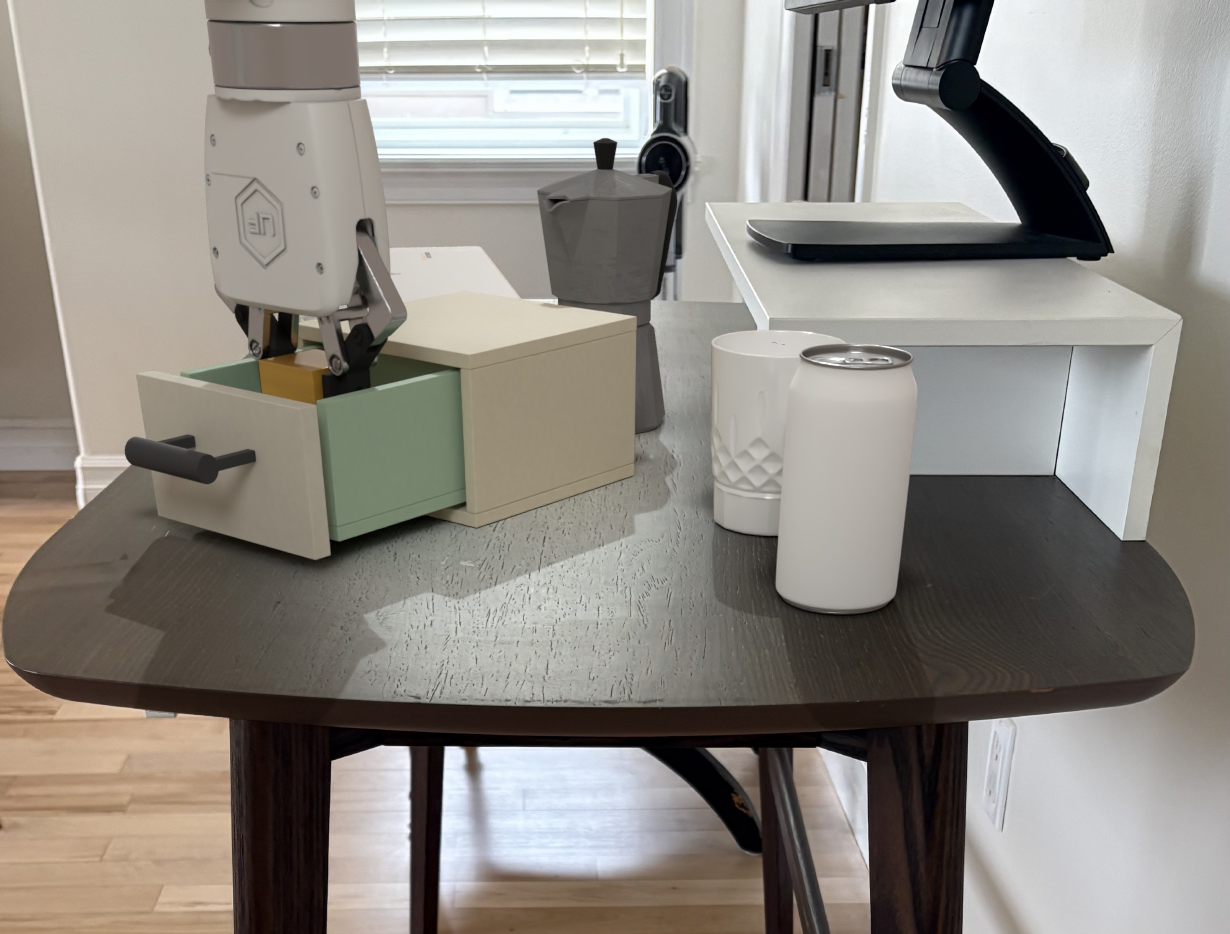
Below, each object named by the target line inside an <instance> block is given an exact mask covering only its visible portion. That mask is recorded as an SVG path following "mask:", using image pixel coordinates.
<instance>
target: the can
mask: <svg viewBox="0 0 1230 934" xmlns="http://www.w3.org/2000/svg"><path fill="white" fill-rule="evenodd" d="M799 356H800V358H801V362H800V365H799V367H798V369H797V371H796V373H795V375H794V377H793V379H792V381H791V384H790V387H789V394H788V405H787V418H786V432H785V446H784V460H783V475H782V489H781V504H780V519H779V534H778V536H777V551H776V568H775V590H776V592H778V594H779V595H780V597H781V599H782V600H783V601H784V602H785V603H786V604H788V605H789V606H790V607H793V608H796V609H799V610H802V611H805V612H809V613H815V614H822V615H831V616H852V615H853V616H854V615H863V614H867V613H872V612H876V611H879V610H882V609H883V608H886V606H887V605H889V604H890V601H892V600H893V599H894V598H895V596H896V594H897V589H898V579H899V572H900V563H901V556H902V555H901V554H902V546H903V540H904V539H903V537H904V529H905V520H906V512H907V511H906V510H907V502H908V496H909V495H908V493H909V485H910V477H911V476H910V475H911V466H912V457H913V449H914V439H915V430H916V422H917V421H916V420H917V410H918V400H919V399H918V398H919V390H918V389H919V388H918V385H917V382H916V379H915V376H914V373H913V368H912V363H913V362H914V359H915V357H914V354H912V353H910V352H909V351H906V350H903V349H900V348H896V347H892V346H885V345H877V344H868V343H867V344H866V343H865V344H864V343H848V344H828V345H819V346H814V347H809V348H806V349H804V350H802V351H801V352H800V354H799Z"/></svg>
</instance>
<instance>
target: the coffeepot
mask: <svg viewBox="0 0 1230 934" xmlns="http://www.w3.org/2000/svg"><path fill="white" fill-rule="evenodd" d="M592 144H593V149H594V155H595V162H596V163H595V164H596V169H594V170H593V169H592V170H590V171H587V172H583V173H581V174H578V175H574V176H571V177H568V178H565V179H562V180H558V181H556V182H553V183H549V184H547V185H545V186H543V187H541V188H538V189H537V190H536V193H537V200H538V207H539V214H540V222H541V227H542V229H541V230H542V235H543V243H544V247H545V248H544V250H545V256H546V257H545V258H546V263H547V270H548V271H547V272H548V277H549V284H550V291H551V295H553V296H554V297H556V298H557V305H562V306H569V307H576V308H582V309H589V310H596V311H603V312H609V313H616V314H623V315H629V316H636V317H637V330H635V331H636V381H635V434H640V433H645V432H649V431H653V430H655V429H657V428H659V427H660V426H661V425H662V423H663V420H664V417H665V416H666V411H665V401H664V393H663V384H662V377H661V370H660V362H659V352H658V346H657V337H656V329H655V327H654V325H653V324H652V323H650V322H651V320H652V314H651V313H652V300H654V299H656V298H657V297H658V296H660V295H661V292H662V287H663V286H662V285H663V281H664V275H665V271H666V266H667V262H668V257H669V251H670V244H671V239H672V233H673V228H674V223H675V218H676V215H677V210H678V195H677V194H678V193H677V191H676V189H675V187H674V184H673V182H672V179H671V177H670V176H669V174H668V173H667V172H666V171H664V170H660V169H658V170H653V171H649V173H639V174H629V173H627V172H623V171H621V170H617V169H615V168H614V165H615V159H616V154H617V153H616V152H617V147H618V141H616V140H614V139H612V138H609V137H602V138H600V139H597V140H595V141H593V143H592Z"/></svg>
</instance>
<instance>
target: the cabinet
mask: <svg viewBox="0 0 1230 934" xmlns="http://www.w3.org/2000/svg"><path fill="white" fill-rule="evenodd" d="M403 303H404V305H405V307H406V310H407V319H406V321H405V322H404V323H403V324H402V325H401V326H400V327H399V328H398V329H397V330H396V331H395V332H394V333H393V334H392V335H391V336H388V340H387V342H386V343H385V345H384V346H383V348H382V349H381V351H380V352H379V353H381V354H387V355H392V356H398V357H403V358H409V359H414V360H420V361H425V362H431V363H436V364H442V365H447V366H453V367H458V368H461V369H460V372H461V394H462V416H463V438H464V460H465V482H466V502H463V503H460V504H456V505H453V506H450V507H447V508H444V509H441V510H437V511H434V512H431V513H428V514H425V515H424V516H427V517H430V518H435V519H438V520H442V521H443V520H444V521H448V522H451V523H455V524H460V525H464V526H467V527H472V528H481V527H485V526H487V525H489V524H493V523H496V522H499V521H502V520H505V519H508V518H511V517H514V516H516V515H520V514H522V513H526V512H528V511H532V510H534V509H538V508H540V507H541V508H542V507H543V506H547V505H550V504H553V503H555V502H558V501H562V500H564V499H567V498H570V497H574V496H576V495H580V494H582V493H585V492H588V491H591V490H594V489H597V488H601V487H603V486H606V485H610V484H612V483H616V482H618V481H622V480H625V479H627V478H630V477H633V476H635V448H636V447H635V446H636V445H635V443H636V442H635V441H636V440H635V439H636V438H635V436H636V433H635V381H636V331H635V330H637V317H636V316H629V315H623V314H616V313H609V312H603V311H596V310H589V309H582V308H576V307H569V306H562V305H558V304H555V303H549V302H541V301H535V300H528V299H522V298H521V299H516V298H509V297H502V296H496V295H489V294H482V293H476V292H469V291H462V292H456V293H451V294H446V295H440V296H435V297H430V298H425V299H419V300H414V301H409V302H403ZM368 312H369V309H368ZM340 323H341V328H342V332H343V337H344V341H345V339H346V338H347V336H348V335H349V333H350V327H349V322H348V321H342V322H340ZM321 343H323V341H322V337H321V333H320V328H319V324H318V320H317V318H313V319H309V320H304V321H299V331H298V347H297V348H301V347H306V346H311V345H316V344H321Z"/></svg>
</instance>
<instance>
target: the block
mask: <svg viewBox="0 0 1230 934" xmlns="http://www.w3.org/2000/svg"><path fill="white" fill-rule="evenodd" d="M258 362H259V371H260V380H261V389H262V394H267V395H271V396H276V397H281V398H285V399H290V400H295V401H300V402H304V403H309V404H314V405H316V406H317V403H316V401H317V400H321V399H323V389H322V374H326V373H330V372H331V371H330V369H329V366H328V363H327V358H326V354H325V351H323V350H318V349H313V350H308V351H303V352H298V353H293V354H288V355H283V356H278V357H273V358H268V359H262V360H259V361H258ZM317 416H318V413H317ZM318 427H319V424H318ZM319 437H320V434H319ZM320 447H321V445H320Z"/></svg>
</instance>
